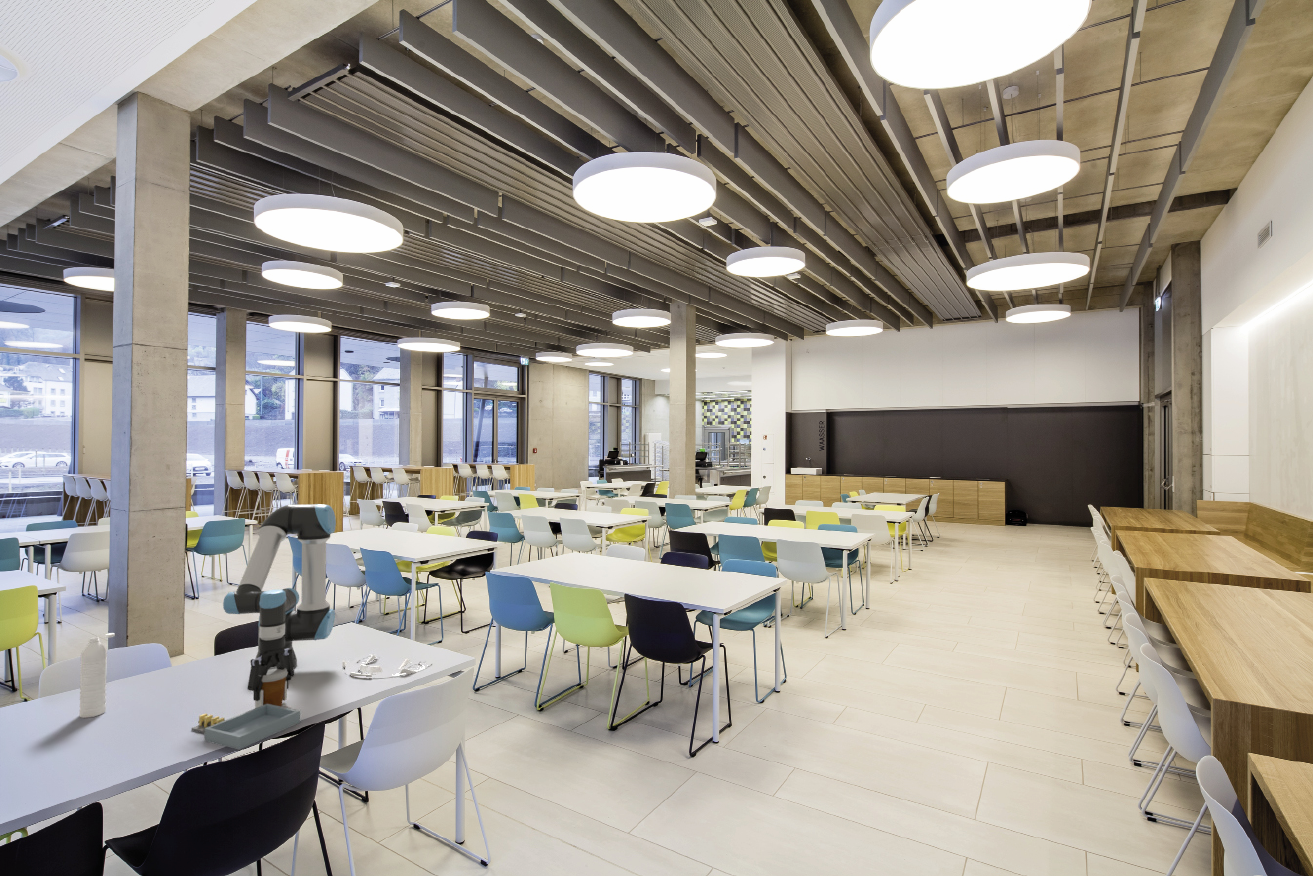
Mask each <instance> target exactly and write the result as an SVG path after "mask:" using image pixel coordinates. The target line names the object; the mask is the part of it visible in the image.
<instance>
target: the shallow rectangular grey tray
mask: <svg viewBox="0 0 1313 876" xmlns="http://www.w3.org/2000/svg"><path fill="white" fill-rule="evenodd" d="M299 723H301V710H297V709H293V708H290V707H289V708H288V707H284V706H281V707H280V706H276V705H271V704H265V705H262V706H260V707H257V708H255V707H254V708H253V709H250V710H248V711H245V712H243V713H240V714H238V715H235V716H232V717H230V718H227V719H225V721H222V722H220V723H217V724H215V725H212V726H210V727H207V728H205V734H204V741H205V742H209V743H212V744H216V745H219V746H223V747H227V748H231V749H234V750H235V749H236V750H241V749H243V748H244V749H245V748H246V747H248V746H251V745H254V744H255V743H257V742H259V741H262V740H263V739H264V740H265V739H266V738H268V737H271V736H273V735H275V734H278V733H279V732H282V731H284V730H286V729H288V728H291V727H293V726H295V725H297V724H299Z"/></svg>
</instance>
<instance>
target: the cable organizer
mask: <svg viewBox="0 0 1313 876" xmlns="http://www.w3.org/2000/svg"><path fill="white" fill-rule="evenodd" d="M370 655H371V657H368V658H369V659H366V660H367V662H366V663H368V662H370V661H372V660H374V659H376V658H377V657H376V656H375V655H376V654H370ZM374 661H375V660H374ZM348 662H349V661H346V660H342V668H345V665H346V664H347V663H348ZM410 663H412V661H411V660H410V659H409V658H405V660H404V661H403V662H402V663H401V665H400V667H399V668H398V669H401V668H402V667H404V666H406V665H409V664H410ZM422 666H423V667H422V668H421V667H420V669H419V670H414V671H413V670H409V669H405V668H402V669H401V671H400V672H399V673H396V674H395V675H393V674H392V676H399V677H400V675H401V676H404V674H409V675H412V674H415V672H416V673H419V672H421V671H424V670H425V666H424V665H422ZM427 666H428V665H427ZM417 669H418V668H417ZM423 669H424V670H423ZM359 670H360V671H359V672H360V673H355V672H351V673H350V675H352V676H366V677H372V675H373V674H375V673H377V674H378V673H382V672H383V670H382V667H381V665H375V666H374V665H370V666H369V667H368V664H367V665H364V664H361V665H360V668H359ZM418 671H419V672H418ZM362 672H363V673H366V672H368V673H369V674H368V673H367V674H361V673H362ZM411 673H412V674H411Z"/></svg>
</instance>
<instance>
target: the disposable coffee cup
mask: <svg viewBox="0 0 1313 876" xmlns="http://www.w3.org/2000/svg"><path fill="white" fill-rule="evenodd" d="M287 674H288V672H287V669H286V668H284V669H283V670H281V669H277V667H271V668H270V669H269V670H268V672H267V674H266V675H264V676H263V678H262V682H263V685H262V688H261V690H263V705H265V704H271V705H276V706H280V707H283V694H284V688H285V681H286V676H287ZM259 676H260V677H261V675H259Z"/></svg>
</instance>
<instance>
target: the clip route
mask: <svg viewBox="0 0 1313 876" xmlns="http://www.w3.org/2000/svg"><path fill="white" fill-rule="evenodd" d="M213 716H214V715H213V714H208V713H204V714H203V713H202V714H200V715H199V716H198V717H199V718H198V723H197V724H198V725H196V726H193V727H191V731H192V732H196V733H198V734H199V733H200V734H204V735H205V728H207V727H210V726H212V725H215V724H217V723H220V722H222V721H225V720H226V719H225V717H220V716H218V715H216V716H215V717H213Z"/></svg>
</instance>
